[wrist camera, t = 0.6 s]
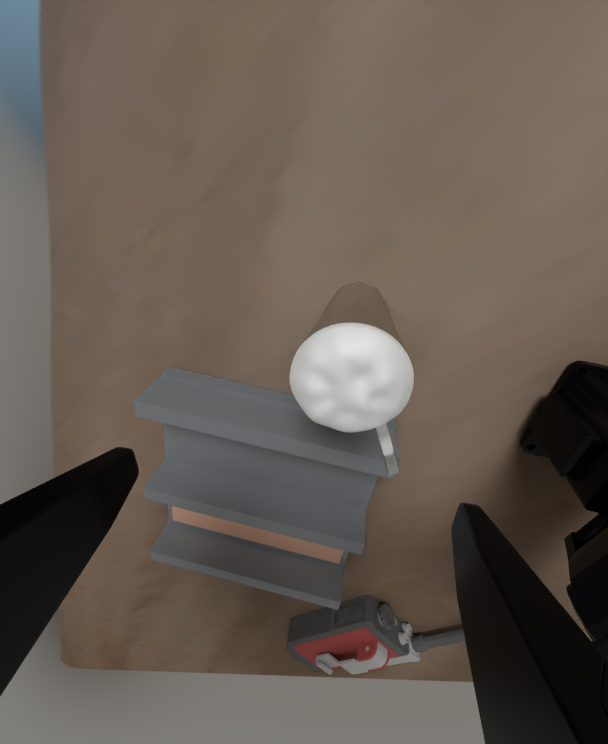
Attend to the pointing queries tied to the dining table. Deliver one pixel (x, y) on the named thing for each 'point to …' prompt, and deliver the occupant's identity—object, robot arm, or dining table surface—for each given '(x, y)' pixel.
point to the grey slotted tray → (258, 486)
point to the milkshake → (354, 368)
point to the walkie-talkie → (359, 638)
